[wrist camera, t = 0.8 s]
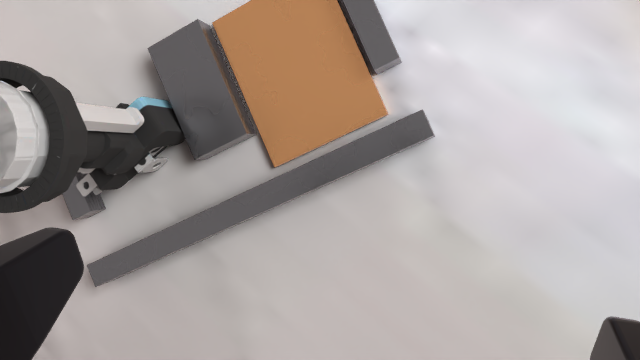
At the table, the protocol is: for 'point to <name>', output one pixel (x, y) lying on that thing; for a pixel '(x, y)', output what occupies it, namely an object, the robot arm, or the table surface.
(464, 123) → the table surface
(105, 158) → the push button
